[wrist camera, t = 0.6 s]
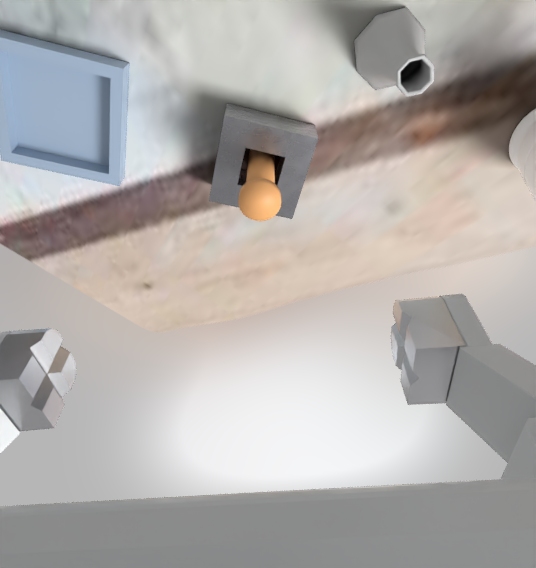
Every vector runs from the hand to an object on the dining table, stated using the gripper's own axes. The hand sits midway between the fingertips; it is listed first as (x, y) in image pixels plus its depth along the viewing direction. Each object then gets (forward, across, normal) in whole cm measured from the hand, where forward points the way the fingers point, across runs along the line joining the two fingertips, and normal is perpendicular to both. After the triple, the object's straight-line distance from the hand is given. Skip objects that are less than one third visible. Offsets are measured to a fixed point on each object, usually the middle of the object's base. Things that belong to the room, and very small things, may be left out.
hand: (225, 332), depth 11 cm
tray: (+42, +22, +5) cm, 47 cm away
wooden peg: (+42, +1, +12) cm, 44 cm away
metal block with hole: (+42, +1, +12) cm, 44 cm away
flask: (+42, -13, +3) cm, 44 cm away
